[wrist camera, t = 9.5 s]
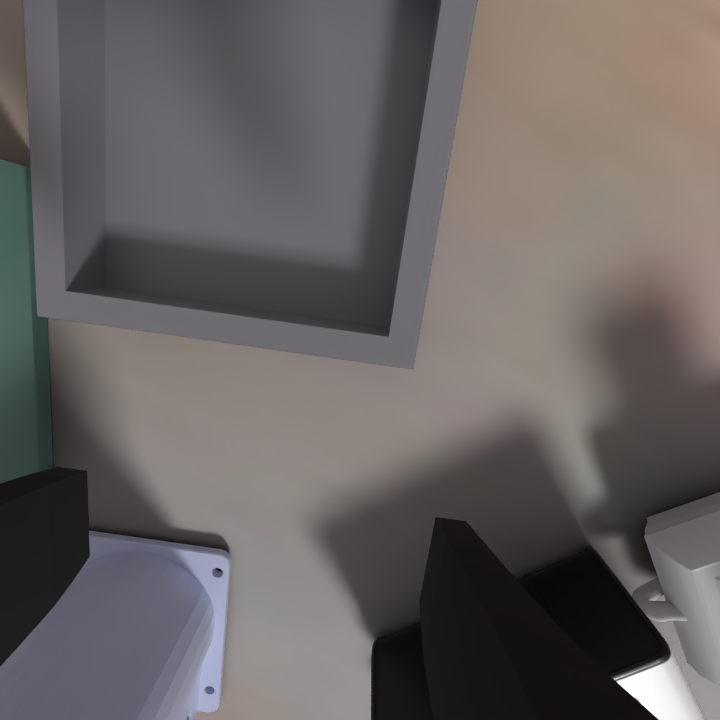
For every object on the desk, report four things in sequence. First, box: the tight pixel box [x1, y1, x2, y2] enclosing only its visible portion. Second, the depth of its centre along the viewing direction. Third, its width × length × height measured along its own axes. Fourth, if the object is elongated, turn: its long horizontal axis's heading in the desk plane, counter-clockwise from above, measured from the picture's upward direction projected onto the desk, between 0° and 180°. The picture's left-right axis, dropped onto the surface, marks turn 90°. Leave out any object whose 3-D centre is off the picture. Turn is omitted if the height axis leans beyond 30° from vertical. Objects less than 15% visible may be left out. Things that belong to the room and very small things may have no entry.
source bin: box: [23, 0, 478, 369], centre depth 14 cm, size 13×13×3 cm
